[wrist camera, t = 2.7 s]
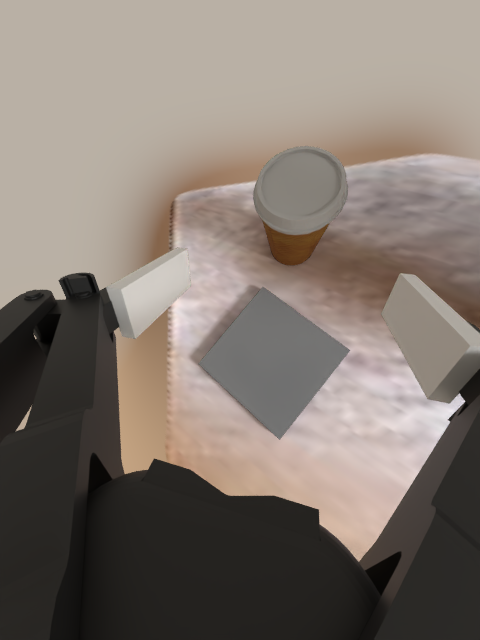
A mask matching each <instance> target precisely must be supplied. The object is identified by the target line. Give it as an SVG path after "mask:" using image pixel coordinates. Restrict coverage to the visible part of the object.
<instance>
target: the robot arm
mask: <svg viewBox="0 0 480 640" xmlns="http://www.w3.org/2000/svg"><path fill="white" fill-rule="evenodd" d="M59 282H60V285H61V287H62V289H63V291H64V294H65V296H66V300H55V298H54V296H53V294H52V292H51V291H49V290H32V291H28V292H26V293H24V294H21V295H19V296H18V297H16V298H15V299H13V300H12V301H11V302H10V303H8V304H7V305H6V306H4V307H3V308H2V309H1V310H0V640H480V330H479V329H478V328H477V327H476V326H474V325H472V324H471V323H469V322H467V321H465V320H464V319H463V318H462V317H461V316H460V315H459V314H458V313H457V312H455V311H454V310H453V309H452V308H451V307H450V306H449V305H448V304H447V303H446V302H444V301H443V300H442V299H441V298H440V297H439V296H438V295H437V294H436V293H434V292H433V291H432V290H431V289H430V288H429V287H428V286H427V285H426V284H424V283H423V282H422V281H421V280H420V279H419V278H418V277H417V276H416V275H412V274H403V273H400V274H399V276H398V279H397V281H396V283H395V285H394V287H393V289H392V291H391V294H390V296H389V298H388V300H387V302H386V304H385V307H384V309H383V311H382V313H381V315H382V317H383V318H384V320H385V322H386V324H387V326H388V328H389V329H390V331H391V333H392V335H393V337H394V338H395V340H396V342H397V344H398V346H399V348H400V349H401V351H402V353H403V355H404V357H405V359H406V360H407V362H408V364H409V366H410V368H411V370H412V371H413V373H414V375H415V377H416V379H417V381H418V382H419V384H420V386H421V388H422V390H423V392H424V393H425V395H426V397H427V399H430V400H435V401H440V402H445V403H450V402H451V401H452V400H453V399H454V398H455V397H456V396H457V395H458V394H459V393H460V394H461V396H462V397H463V399H464V400H465V403H464V404H463V405H462V406H461V407H460V408H459V409H458V410H457V411H456V412H455V413H454V414H453V415H452V416H451V417H450V418H449V419H448V420H449V421H450V424H449V425H448V427H447V428H446V430H445V432H444V433H443V435H442V436H441V438H440V440H439V441H438V443H437V444H436V446H435V448H434V449H433V451H432V453H431V454H430V456H429V457H428V459H427V461H426V462H425V464H424V465H423V467H422V469H421V470H420V472H419V473H418V475H417V477H416V478H415V480H414V481H413V483H412V485H411V486H410V488H409V489H408V491H407V493H406V494H405V496H404V497H403V499H402V501H401V502H400V504H399V505H398V507H397V509H396V510H395V512H394V513H393V515H392V517H391V518H390V520H389V522H388V523H387V525H386V526H385V528H384V530H383V531H382V533H381V534H380V536H379V538H378V539H377V541H376V542H375V543H374V545H373V546H372V547H371V548H370V549H369V551H368V552H367V553H366V554H365V555H364V556H363V558H362V559H361V560H360V562H358V561H357V560H356V558H355V557H354V556H353V555H352V554H351V552H350V551H349V550H348V549H347V548H346V547H345V546H344V545H343V544H342V543H341V542H340V541H339V540H338V539H337V538H336V537H335V536H334V535H333V534H331V533H330V532H329V531H328V530H327V529H325V528H324V527H322V526H321V525H320V524H319V510H318V509H315V508H312V507H309V506H305V505H302V504H299V503H296V502H293V501H289V500H286V499H283V498H280V497H276V496H228V495H226V494H224V493H222V492H221V491H220V490H218V489H217V488H215V487H214V486H212V485H211V484H210V483H208V482H207V481H205V480H204V479H203V478H201V477H200V476H198V475H197V474H196V473H194V472H193V471H191V470H189V469H186V468H183V467H180V466H177V465H173V464H170V463H167V462H164V461H161V460H157V459H154V460H153V462H152V463H151V465H150V467H149V469H148V470H142V471H136V472H132V473H128V474H124V470H123V466H122V461H121V444H120V422H119V402H118V401H119V400H118V378H117V357H116V337H115V334H114V330H116V329H117V328H118V327H119V328H120V331H121V334H122V336H123V337H128V338H133V339H136V338H137V337H138V336H139V335H140V334H141V333H142V332H143V331H144V330H145V329H146V328H148V327H149V326H150V325H151V324H152V323H153V322H154V321H155V320H156V319H157V318H158V317H159V316H160V315H161V314H162V313H163V312H164V311H165V310H166V309H167V308H168V307H169V306H170V305H172V304H173V303H174V302H175V301H176V300H177V299H178V298H179V297H180V296H181V295H182V294H183V293H184V292H185V291H186V290H187V289H188V288H189V287H190V286H191V280H190V270H189V259H188V249H186V248H175V249H174V250H172V251H170V252H168V253H166V254H165V255H163V256H161V257H159V258H157V259H156V260H154V261H152V262H150V263H148V264H147V265H145V266H143V267H141V268H139V269H138V270H136V271H134V272H132V273H131V274H129V275H127V276H125V277H123V278H122V279H120V280H118V281H116V282H114V283H113V284H111V285H109V286H107V287H106V288H104V289H102V290H100V291H99V288H98V285H97V283H96V280H95V277H94V275H93V274H91V273H76V274H71V275H67V276H65V277H63V278H61V279H60V280H59ZM33 333H34V334H33ZM34 335H35V336H36V338H37V339H35V337H34ZM32 404H33V405H32ZM31 406H32V408H31V411H30V414H29V417H28V420H27V423H26V426H25V428H24V429H22V430H19V431H16V429H17V428H18V426H19V425H20V423H21V422H22V420H23V418H24V417H25V415H26V414H27V412H28V411H29V409H30V407H31ZM15 431H16V432H15Z"/></svg>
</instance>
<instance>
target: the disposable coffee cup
mask: <svg viewBox="0 0 480 640" xmlns="http://www.w3.org/2000/svg"><path fill="white" fill-rule="evenodd" d="M347 194H348V185H347V181H346V173H345V170H344V167H343V165H342V164H341V162H340V161H339V159H337V158H336V157H335V156H334V155H333V154H332V153H330V152H328V151H326V150H323V149H321V148H317V147H311V146H301V147H294V148H291V149H287V150H285V151H283V152H281V153H279V154H277V155H275V156H274V157H273V158H272V159H270V160H269V161H268V162H267V163H266V165H265V166H264V167H263V169H262V170H261V172H260V175H259V177H258V180H257V182H256V185H255V188H254V197H253V199H254V205H255V209H256V211H257V213H258V214H259V216H260V218H261V219H262V221H263V224H264V227H265V231H266V234H267V238H268V241H269V244H270V248H271V252H272V254H273V256H274V258H275V259H276V260H277V261H279V262H280V263H282V264H285V265H297V264H301V263H303V262H304V261H306V260H307V259H308V258H309V257H310V256H311V254H312V252H313V250H314V249H315V247H316V245H317V244H318V242H319V240H320V239H321V237H322V235H323V234H324V232H325V230H326V229H327V227H328V225H329V223H330V222H331V221H332V220H333V219H335V218H336V216H337V215H338V214H339V213H340V212H341V210H342V208H343V206H344V204H345V202H346V199H347Z"/></svg>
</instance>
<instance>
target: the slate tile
mask: <svg viewBox="0 0 480 640" xmlns="http://www.w3.org/2000/svg"><path fill="white" fill-rule="evenodd" d="M349 351H350V350H349V349H348V348H346V347H345V346H343V345H342V344H341V343H339V342H338V341H337V340H335V339H334V338H332V337H331V336H330V335H328V334H327V333H326V332H324V331H323V330H322V329H320V328H319V327H317V326H316V325H315V324H313V323H312V322H311V321H309V320H308V319H306V318H305V317H304V316H302V315H301V314H300V313H298V312H297V311H296V310H294V309H293V308H291V307H290V306H289V305H287V304H286V303H285V302H283V301H282V300H280V299H279V298H278V297H276V296H275V295H274V294H272V293H271V292H270V291H268V290H267V289H265V288H264V287H262V288H261V290H260V291H259V292H258V293H257V294H256V296H255V297H254V298H253V299H252V300H251V302H250V303H249V304H248V305H247V306H246V307H245V309H244V310H243V311H242V312H241V313H240V315H239V316H238V317H237V318H236V319H235V321H234V322H233V323H232V324H231V325H230V327H229V328H228V329H227V330H226V331H225V333H224V334H223V335H222V336H221V337H220V339H219V340H218V341H217V342H216V343H215V345H214V346H213V347H212V348H211V349H210V351H209V352H208V353H207V354H206V355H205V357H204V358H203V359H202V360H201V361H200V363H199V365H200V366H201V367H202V368H203V369H205V370H206V371H207V372H208V373H209V374H210V375H211V376H212V377H213V378H214V379H215V380H216V381H217V382H218V383H220V384H221V385H222V386H223V387H224V388H225V389H226V390H227V391H228V392H229V393H230V394H231V395H232V396H233V397H235V398H236V399H237V400H238V401H239V402H240V403H241V404H242V405H243V406H244V407H245V408H246V409H247V410H248V411H249V412H251V413H252V414H253V415H254V416H255V417H256V418H257V419H258V420H259V421H260V422H261V423H262V424H263V425H264V426H266V427H267V428H268V429H269V430H270V431H271V432H272V433H273V434H274V435H275V436H276V437H277V438H278V439H279V440H280V439H281V438H282V436H283V435H284V434H285V432H286V431H287V430H288V429H289V427H290V426H291V425H292V424H293V422H294V421H295V420H296V418H297V417H298V416H299V415H300V413H301V412H302V411H303V410H304V408H305V407H306V406H307V404H308V403H309V402H310V401H311V399H312V398H313V397H314V396H315V394H316V393H317V392H318V391H319V389H320V388H321V387H322V385H323V384H324V383H325V382H326V380H327V379H328V378H329V377H330V375H331V374H332V373H333V371H334V370H335V369H336V368H337V366H338V365H339V364H340V363H341V361H342V360H343V359H344V357H345V356H346V355H347V354H348V352H349Z"/></svg>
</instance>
